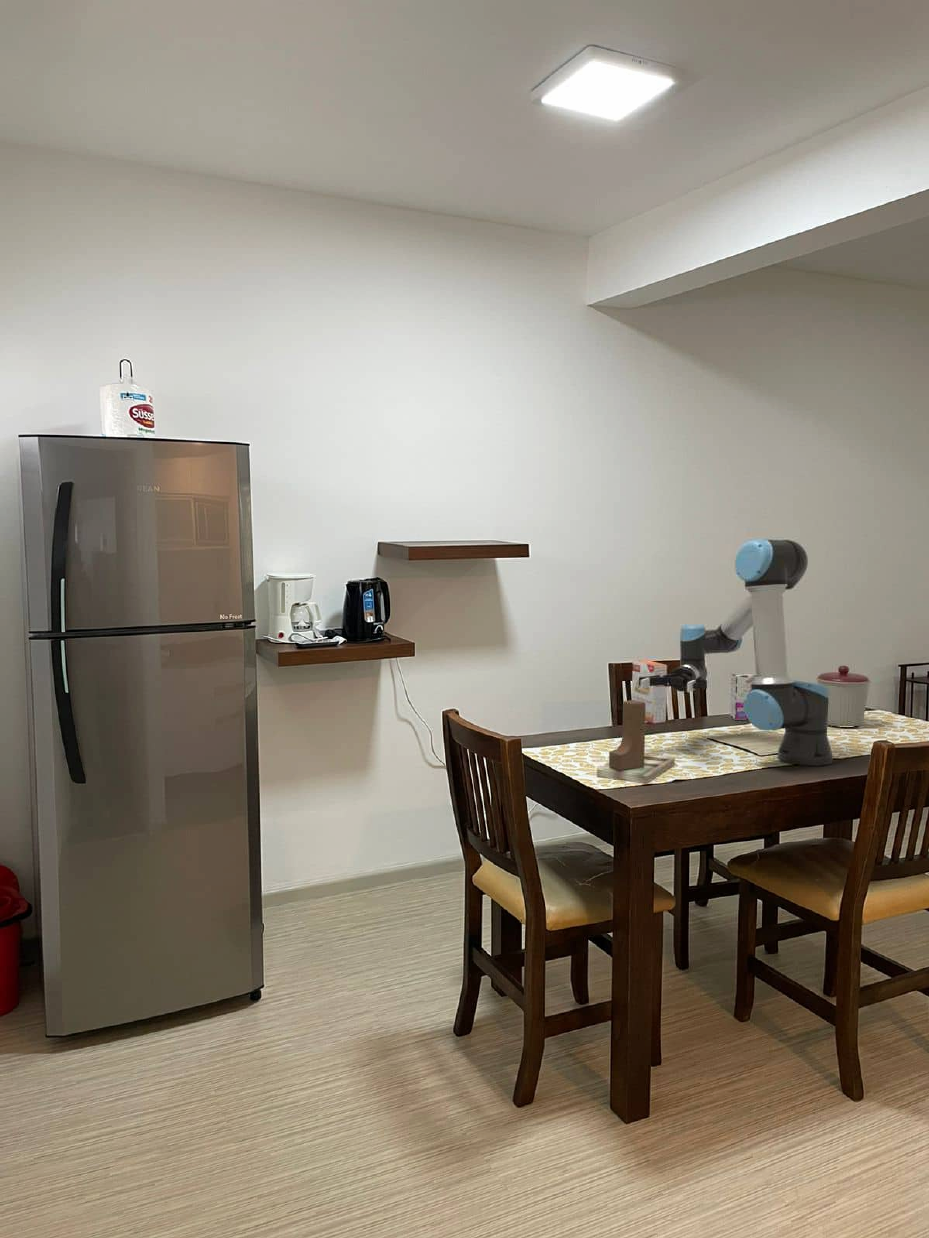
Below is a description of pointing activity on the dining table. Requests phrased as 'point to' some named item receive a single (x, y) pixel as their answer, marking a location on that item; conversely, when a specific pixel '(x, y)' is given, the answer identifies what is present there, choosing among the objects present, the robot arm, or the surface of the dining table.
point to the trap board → (639, 770)
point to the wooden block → (630, 738)
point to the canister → (845, 696)
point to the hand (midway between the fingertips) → (664, 686)
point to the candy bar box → (740, 693)
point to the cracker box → (650, 690)
